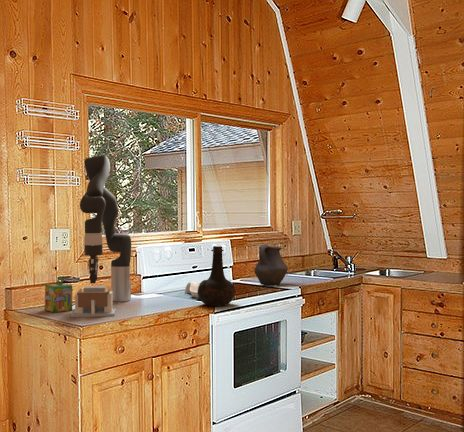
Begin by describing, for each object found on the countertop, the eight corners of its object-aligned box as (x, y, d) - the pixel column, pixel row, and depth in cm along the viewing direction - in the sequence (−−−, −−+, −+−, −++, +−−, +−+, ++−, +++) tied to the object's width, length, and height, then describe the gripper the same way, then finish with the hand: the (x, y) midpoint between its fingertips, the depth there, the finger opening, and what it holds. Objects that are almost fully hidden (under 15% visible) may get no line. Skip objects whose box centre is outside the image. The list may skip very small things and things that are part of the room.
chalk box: (44, 310, 253) (44, 277, 253) (63, 308, 259) (63, 276, 259) (53, 313, 246) (53, 279, 246) (73, 310, 253) (73, 277, 253)
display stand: (74, 311, 249) (74, 286, 249) (115, 310, 252) (115, 285, 252) (70, 317, 236) (70, 290, 236) (114, 315, 238) (114, 289, 238)
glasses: (80, 302, 250) (80, 288, 250) (110, 301, 252) (110, 288, 252) (76, 307, 236) (76, 293, 236) (108, 306, 238) (108, 292, 238)
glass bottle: (193, 303, 273) (193, 245, 273) (227, 301, 279) (227, 244, 279) (204, 309, 256) (204, 247, 256) (240, 306, 262) (240, 246, 262)
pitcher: (293, 284, 346) (293, 244, 346) (277, 288, 328) (277, 245, 328) (264, 282, 357) (264, 243, 357) (246, 286, 339) (246, 244, 339)
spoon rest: (216, 298, 290) (216, 284, 290) (195, 300, 285) (195, 285, 285) (197, 292, 311) (197, 279, 311) (177, 294, 306) (177, 281, 306)
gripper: (85, 242, 245) (86, 280, 245) (82, 245, 231) (83, 284, 231) (103, 242, 246) (103, 279, 246) (101, 244, 232) (101, 284, 232)
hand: (93, 282), depth 239 cm, fingers open, 8 cm apart
